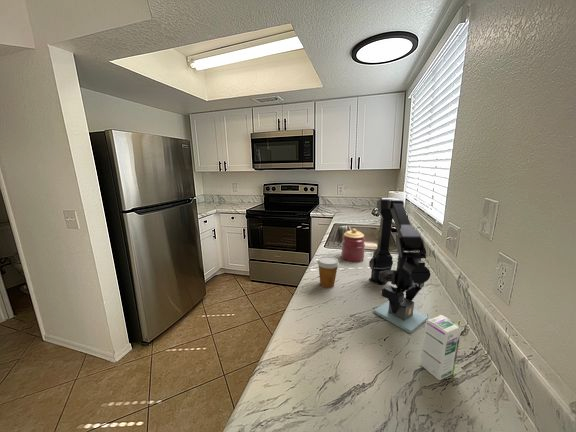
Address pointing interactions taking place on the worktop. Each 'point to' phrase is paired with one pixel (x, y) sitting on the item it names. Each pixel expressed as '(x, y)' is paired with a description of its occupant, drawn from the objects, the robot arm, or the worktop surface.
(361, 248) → the canister
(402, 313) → the grey block
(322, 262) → the disposable coffee cup
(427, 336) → the syrup box
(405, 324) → the plate
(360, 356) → the worktop surface
